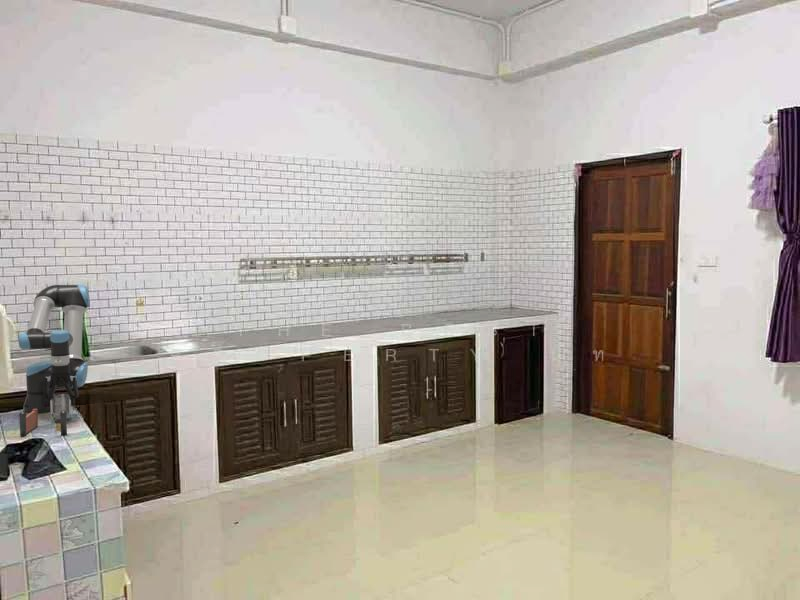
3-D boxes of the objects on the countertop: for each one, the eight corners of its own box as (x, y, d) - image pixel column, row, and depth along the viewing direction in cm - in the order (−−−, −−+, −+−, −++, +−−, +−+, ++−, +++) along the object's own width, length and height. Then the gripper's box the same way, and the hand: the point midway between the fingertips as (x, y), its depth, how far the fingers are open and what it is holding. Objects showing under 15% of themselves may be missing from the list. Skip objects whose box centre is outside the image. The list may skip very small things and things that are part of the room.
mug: (71, 413, 310) (70, 388, 309) (73, 419, 300) (72, 394, 299) (53, 415, 306) (52, 390, 305) (54, 422, 296) (53, 396, 295)
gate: (26, 433, 282) (26, 416, 282) (22, 434, 282) (22, 416, 281) (37, 425, 295) (37, 408, 295) (34, 425, 295) (33, 408, 294)
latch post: (58, 434, 285) (58, 410, 284) (68, 433, 285) (67, 410, 284) (56, 436, 281) (55, 412, 280) (65, 436, 282) (65, 412, 281)
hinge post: (21, 435, 282) (20, 411, 281) (28, 435, 282) (27, 411, 281) (18, 437, 279) (17, 412, 278) (25, 436, 280) (24, 412, 279)
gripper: (33, 366, 295) (35, 416, 297) (81, 365, 299) (82, 414, 301) (39, 363, 302) (41, 411, 304) (86, 362, 306) (87, 410, 308)
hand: (61, 413), depth 303 cm, fingers closed on mug, 7 cm apart
